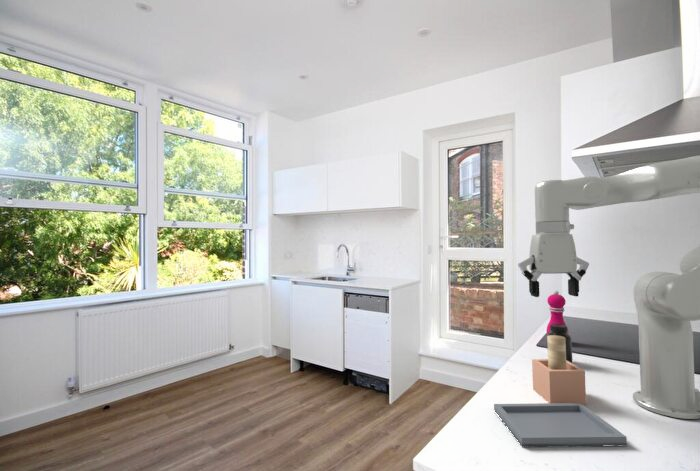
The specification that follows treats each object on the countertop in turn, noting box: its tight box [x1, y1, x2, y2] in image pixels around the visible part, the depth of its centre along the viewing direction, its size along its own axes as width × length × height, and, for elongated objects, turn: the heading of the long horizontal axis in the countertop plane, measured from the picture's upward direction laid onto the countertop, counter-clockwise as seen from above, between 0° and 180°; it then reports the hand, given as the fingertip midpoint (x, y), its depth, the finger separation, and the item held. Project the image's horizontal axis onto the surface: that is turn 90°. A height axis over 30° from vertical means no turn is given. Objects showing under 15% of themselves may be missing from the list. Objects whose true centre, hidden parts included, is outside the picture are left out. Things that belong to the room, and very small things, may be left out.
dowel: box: [546, 335, 567, 370], centre depth 89 cm, size 4×4×15 cm
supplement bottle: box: [546, 324, 573, 364], centre depth 113 cm, size 7×7×12 cm
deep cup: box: [531, 358, 587, 405], centre depth 89 cm, size 8×8×8 cm
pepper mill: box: [546, 290, 569, 334], centre depth 133 cm, size 7×7×20 cm
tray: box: [493, 402, 628, 448], centre depth 75 cm, size 20×14×2 cm
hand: (554, 295), depth 89 cm, fingers open, 9 cm apart
